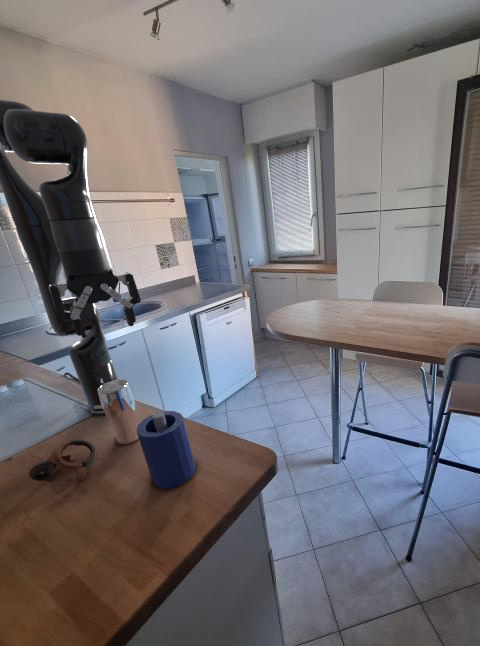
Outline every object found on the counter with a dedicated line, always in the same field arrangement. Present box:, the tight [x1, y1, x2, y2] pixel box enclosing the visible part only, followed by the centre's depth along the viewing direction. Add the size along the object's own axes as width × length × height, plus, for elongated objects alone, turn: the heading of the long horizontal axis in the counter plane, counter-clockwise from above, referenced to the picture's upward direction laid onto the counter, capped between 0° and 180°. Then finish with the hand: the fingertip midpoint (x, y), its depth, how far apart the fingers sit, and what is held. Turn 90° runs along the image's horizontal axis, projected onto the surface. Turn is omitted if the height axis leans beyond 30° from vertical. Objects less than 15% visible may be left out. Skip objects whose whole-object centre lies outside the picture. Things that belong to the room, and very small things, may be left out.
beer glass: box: [97, 378, 139, 445], centre depth 82 cm, size 7×7×15 cm
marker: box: [152, 411, 168, 432], centre depth 69 cm, size 2×2×14 cm
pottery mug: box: [28, 439, 97, 483], centre depth 73 cm, size 12×10×8 cm
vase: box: [136, 410, 196, 489], centre depth 70 cm, size 9×9×13 cm
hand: (108, 330), depth 66 cm, fingers open, 8 cm apart
